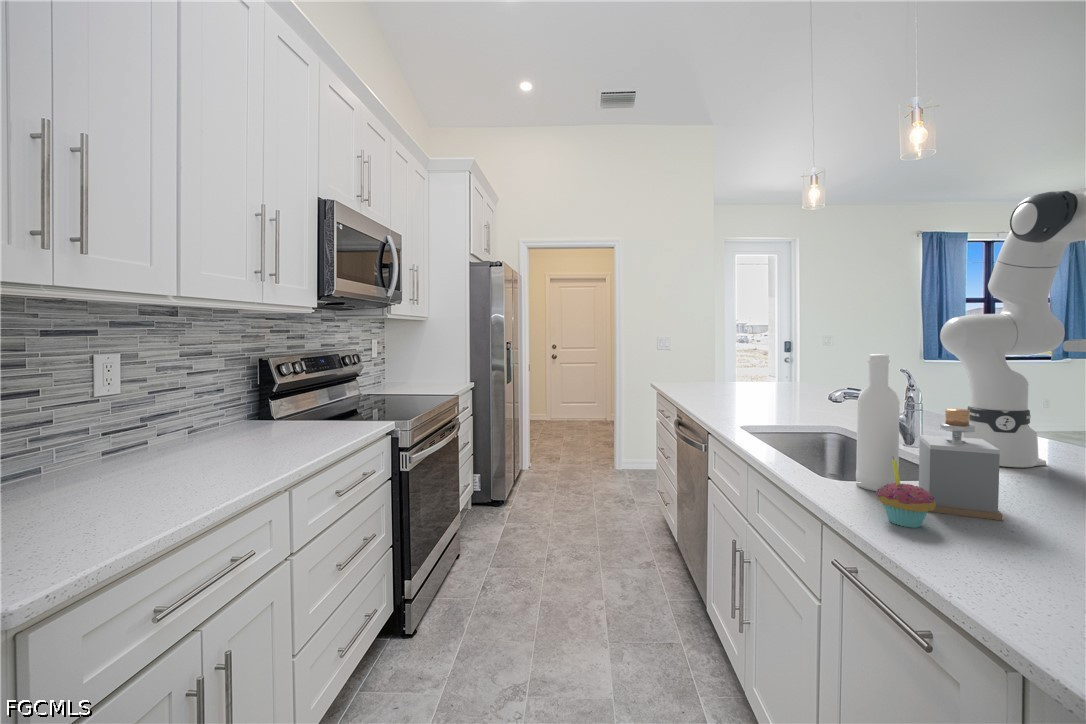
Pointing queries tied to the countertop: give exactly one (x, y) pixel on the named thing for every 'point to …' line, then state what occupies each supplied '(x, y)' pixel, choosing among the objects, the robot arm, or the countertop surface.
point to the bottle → (877, 428)
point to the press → (960, 476)
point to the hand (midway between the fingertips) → (1065, 345)
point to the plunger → (957, 423)
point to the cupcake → (905, 502)
